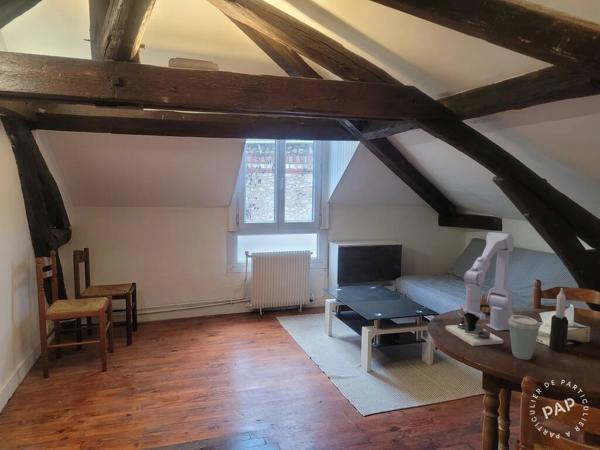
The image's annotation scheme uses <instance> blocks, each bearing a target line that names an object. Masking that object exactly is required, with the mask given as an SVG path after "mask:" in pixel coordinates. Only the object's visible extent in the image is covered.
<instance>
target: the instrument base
mask: <svg viewBox="0 0 600 450" xmlns="http://www.w3.org/2000/svg"><path fill="white" fill-rule="evenodd" d="M445 330H446V331H448V332H450V333H452V335H455V336H457V337H458V338H459V339H461V340H462V341H464V342H465V343H467V344H469V345H471V346H472V347H475V346H485V345H497V344H498V345H499V344H500V345H501V344H504V339H502V338H501V337H499V336H497V335H495V334H493V333H491V332H489V330H488V329H486V328H484V329H483V331H486V332H489V333H490V338H488V339H485V338H481V337H479V335H475V334H469V333H465V329H461V328H458V324H454V325H453V324H451V325H445Z"/></svg>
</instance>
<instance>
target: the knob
mask: <svg viewBox="0 0 600 450" xmlns="http://www.w3.org/2000/svg"><path fill="white" fill-rule="evenodd" d="M455 321H456V323H457V325H458V328H461V329H465V324H466V323H467V322H465V316H464V315H462V314H461V313H460V312H456V313H455Z"/></svg>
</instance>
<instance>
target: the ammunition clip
mask: <svg viewBox="0 0 600 450" xmlns="http://www.w3.org/2000/svg"><path fill="white" fill-rule="evenodd" d="M488 293H489V290H487V291H486V293H485V291H484V290H483V291H482V293H481V299H480V310H481V311H482V312H483V313H484V314H485V315H486V316H490V315H491V308H490V307H489V305H488V303H487V296H488Z"/></svg>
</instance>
